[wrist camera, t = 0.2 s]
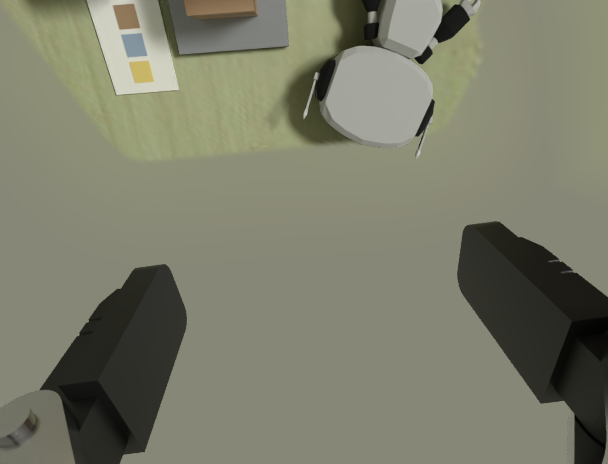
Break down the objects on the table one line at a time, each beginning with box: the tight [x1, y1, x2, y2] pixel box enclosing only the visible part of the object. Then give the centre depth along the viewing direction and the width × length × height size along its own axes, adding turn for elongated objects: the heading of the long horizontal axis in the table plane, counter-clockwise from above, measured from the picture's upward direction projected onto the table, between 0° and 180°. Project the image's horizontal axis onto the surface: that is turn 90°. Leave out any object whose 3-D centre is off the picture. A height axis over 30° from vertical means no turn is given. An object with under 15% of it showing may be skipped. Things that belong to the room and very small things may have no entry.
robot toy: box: [303, 0, 480, 158], centre depth 31 cm, size 12×4×15 cm
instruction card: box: [87, 0, 179, 95], centre depth 31 cm, size 8×6×1 cm
